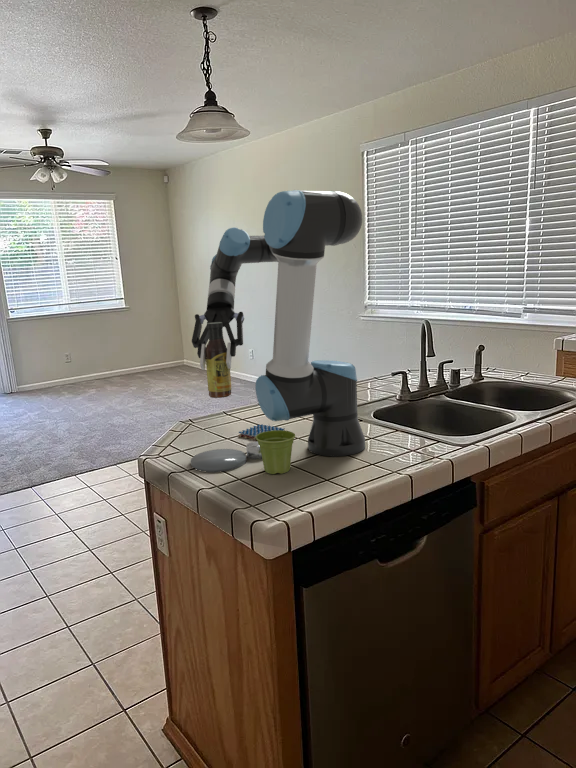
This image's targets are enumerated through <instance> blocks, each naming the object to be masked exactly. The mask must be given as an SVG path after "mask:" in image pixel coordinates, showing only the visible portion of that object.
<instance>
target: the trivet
mask: <svg viewBox="0 0 576 768" xmlns="http://www.w3.org/2000/svg"><path fill="white" fill-rule="evenodd" d="M246 462H247V453H245V452H244V451H242V450H240V449H233V448H217V449H210V450H206V451H202V452H199V453H197V454H195V455H194V456H192V457H191V459H190V467H191V466H192V467H193V468H195V469H197V470H201V471H200V472H202V471H206V472H205V473H220V471H222V472H227V471H232V470H235V469H237V468H240V467H241V466H242V467H243V465H245V464H246ZM192 467H191V468H192ZM193 468H192V469H193ZM195 469H194V470H195ZM197 470H196V471H197Z"/></svg>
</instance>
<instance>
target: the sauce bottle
mask: <svg viewBox="0 0 576 768" xmlns="http://www.w3.org/2000/svg"><path fill="white" fill-rule="evenodd" d="M206 325H207V328H208V330H209V339H208V342H207V344H206V363H205V369H206V379H207V380H206V381H207V391H208V397H209V398H212V399H221V398H228V397H230V396H231V395H232V381H231V379H232V378H231V369H228V367H227V364H226V358H227V344H226V342H225V340H224V334H223V333H224V331H223V329H224V327H223V323H222V322H214V323H207V322H206Z"/></svg>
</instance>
